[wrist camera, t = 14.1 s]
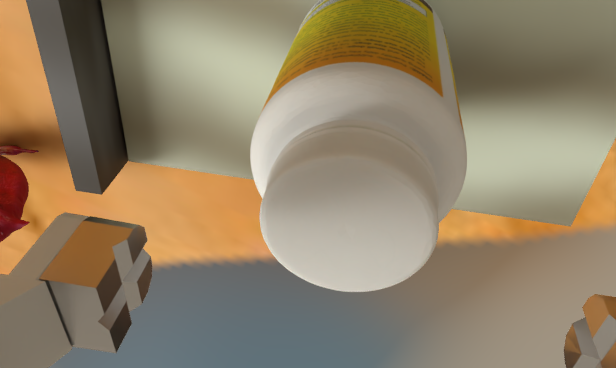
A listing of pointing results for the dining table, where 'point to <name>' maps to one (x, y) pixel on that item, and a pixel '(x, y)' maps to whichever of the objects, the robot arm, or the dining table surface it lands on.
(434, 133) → the supplement bottle
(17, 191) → the decorative bird figurine
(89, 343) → the robot arm
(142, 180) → the dining table surface
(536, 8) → the open wooden crate
